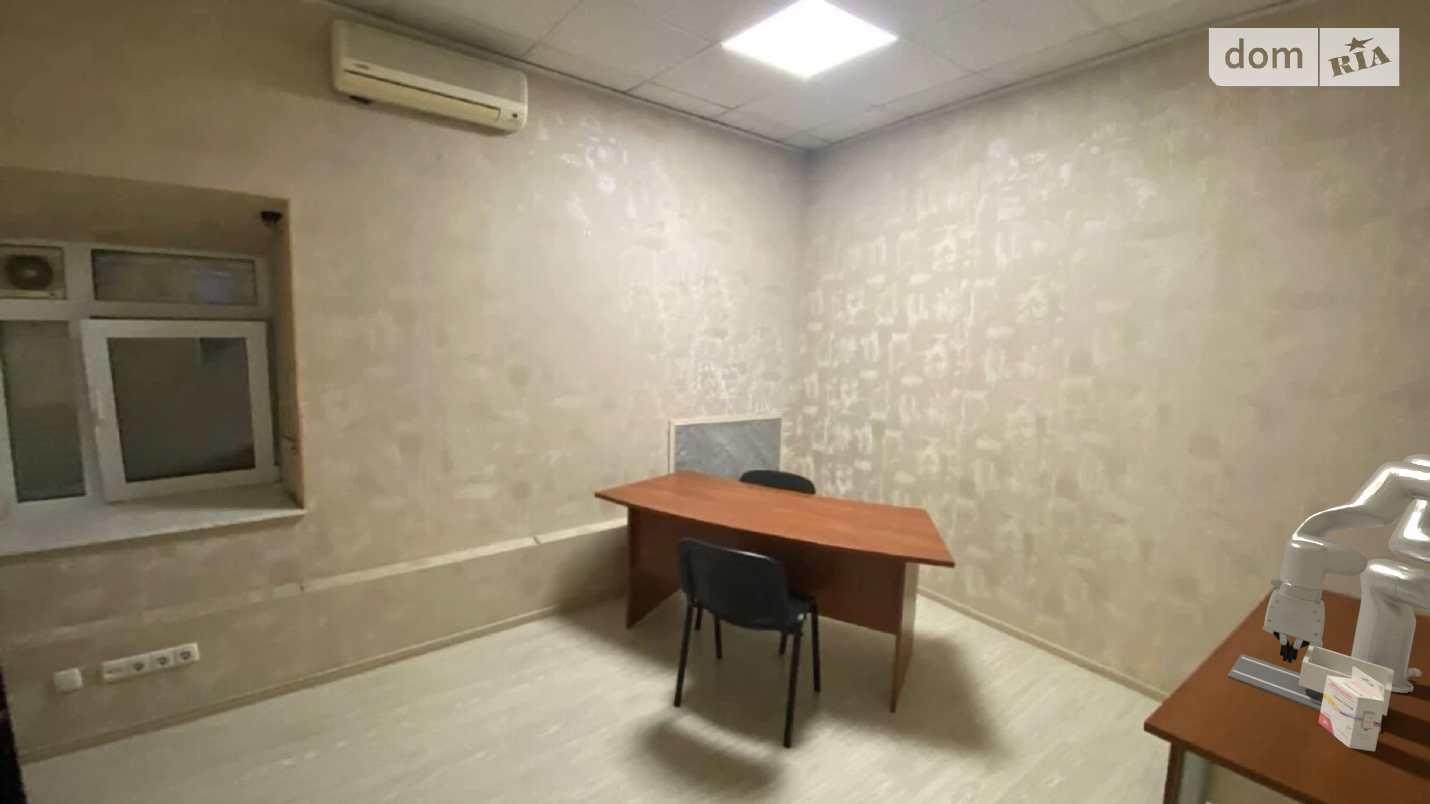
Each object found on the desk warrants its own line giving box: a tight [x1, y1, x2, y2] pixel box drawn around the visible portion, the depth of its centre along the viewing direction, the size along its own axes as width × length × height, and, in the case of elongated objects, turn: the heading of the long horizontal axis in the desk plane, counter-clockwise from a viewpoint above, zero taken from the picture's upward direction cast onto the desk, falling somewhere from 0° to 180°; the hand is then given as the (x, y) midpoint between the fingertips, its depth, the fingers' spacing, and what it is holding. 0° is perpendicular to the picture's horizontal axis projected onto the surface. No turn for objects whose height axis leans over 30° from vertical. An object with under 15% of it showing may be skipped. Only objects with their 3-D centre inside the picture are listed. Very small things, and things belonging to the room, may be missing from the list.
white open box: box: [1298, 645, 1394, 717], centre depth 139 cm, size 14×14×8 cm
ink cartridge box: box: [1318, 667, 1385, 752], centre depth 126 cm, size 9×5×15 cm, turn 169°
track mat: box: [1226, 653, 1384, 734], centre depth 145 cm, size 18×26×1 cm
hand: (1287, 660), depth 147 cm, fingers closed
